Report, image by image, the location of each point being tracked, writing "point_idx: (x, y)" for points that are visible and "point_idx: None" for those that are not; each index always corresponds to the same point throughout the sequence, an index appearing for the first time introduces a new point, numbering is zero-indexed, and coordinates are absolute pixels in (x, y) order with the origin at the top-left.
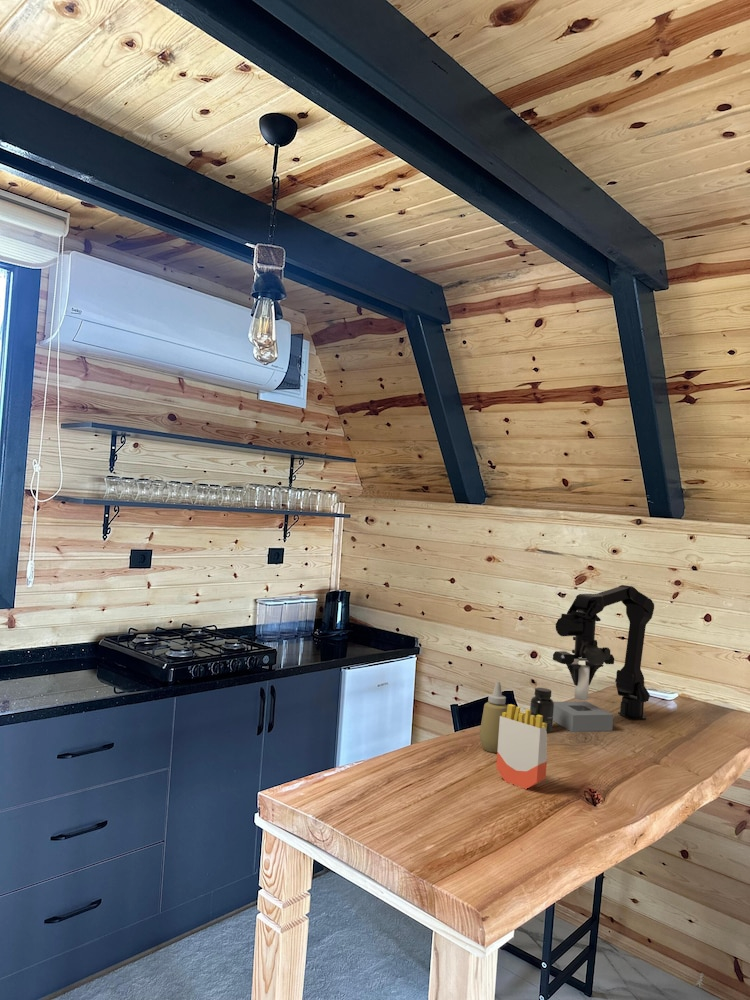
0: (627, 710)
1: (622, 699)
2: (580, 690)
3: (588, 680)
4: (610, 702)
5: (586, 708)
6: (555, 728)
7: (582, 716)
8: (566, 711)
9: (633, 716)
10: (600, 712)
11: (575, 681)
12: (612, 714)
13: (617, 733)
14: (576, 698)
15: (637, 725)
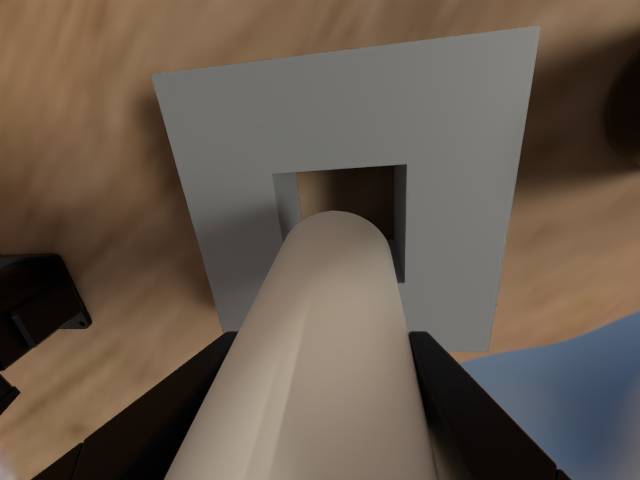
0: (36, 292)
1: (16, 355)
2: (379, 265)
3: (244, 347)
4: (86, 428)
5: None
6: (548, 123)
7: (436, 39)
8: (518, 146)
9: (31, 268)
10: (234, 128)
11: (460, 375)
12: (156, 78)
13: (191, 35)
14: (390, 252)
15: (42, 181)
